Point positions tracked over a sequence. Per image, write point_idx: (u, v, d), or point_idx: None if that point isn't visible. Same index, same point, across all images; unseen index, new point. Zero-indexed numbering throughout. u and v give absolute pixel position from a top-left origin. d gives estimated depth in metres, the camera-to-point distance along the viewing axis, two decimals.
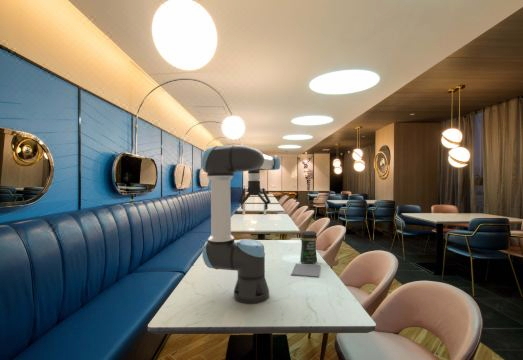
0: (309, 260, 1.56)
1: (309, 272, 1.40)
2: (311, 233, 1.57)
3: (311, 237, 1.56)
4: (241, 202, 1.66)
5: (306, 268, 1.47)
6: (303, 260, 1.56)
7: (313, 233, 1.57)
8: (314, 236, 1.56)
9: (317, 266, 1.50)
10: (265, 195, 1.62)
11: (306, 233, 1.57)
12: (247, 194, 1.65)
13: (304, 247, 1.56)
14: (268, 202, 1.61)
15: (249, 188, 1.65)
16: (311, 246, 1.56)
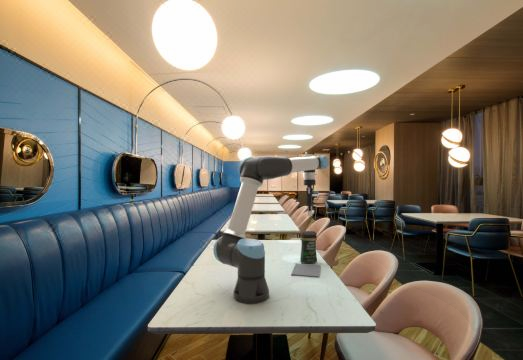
0: (309, 260, 1.56)
1: (309, 272, 1.40)
2: (311, 233, 1.57)
3: (311, 237, 1.56)
4: None
5: (306, 268, 1.47)
6: (303, 260, 1.56)
7: (313, 233, 1.57)
8: (314, 236, 1.56)
9: (317, 266, 1.50)
10: (307, 197, 1.67)
11: (306, 233, 1.57)
12: None
13: (304, 247, 1.56)
14: (307, 204, 1.68)
15: None
16: (311, 246, 1.56)
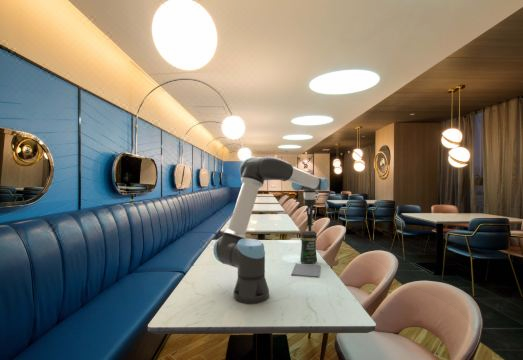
0: (309, 260, 1.56)
1: (309, 272, 1.40)
2: (311, 233, 1.57)
3: (311, 237, 1.56)
4: None
5: (306, 268, 1.47)
6: (303, 260, 1.56)
7: (313, 233, 1.57)
8: (314, 236, 1.56)
9: (317, 266, 1.50)
10: (307, 217, 1.67)
11: (306, 233, 1.57)
12: None
13: (304, 247, 1.56)
14: (307, 224, 1.68)
15: None
16: (311, 246, 1.56)
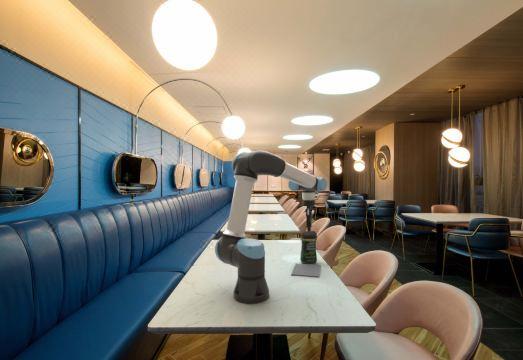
0: (309, 260, 1.55)
1: (309, 272, 1.40)
2: (312, 233, 1.56)
3: (311, 237, 1.54)
4: None
5: (306, 268, 1.47)
6: (303, 260, 1.56)
7: (313, 233, 1.56)
8: (314, 236, 1.55)
9: (317, 266, 1.50)
10: (306, 218, 1.60)
11: (306, 233, 1.55)
12: None
13: (304, 247, 1.55)
14: None
15: None
16: (311, 247, 1.55)
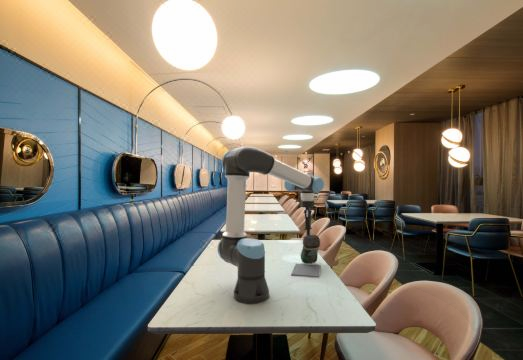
0: (309, 262, 1.54)
1: (309, 272, 1.40)
2: (315, 242, 1.46)
3: (314, 247, 1.46)
4: None
5: (306, 268, 1.47)
6: (303, 261, 1.55)
7: (317, 243, 1.46)
8: (317, 246, 1.46)
9: (317, 266, 1.50)
10: (305, 220, 1.52)
11: (309, 243, 1.45)
12: None
13: (306, 253, 1.50)
14: None
15: None
16: (313, 253, 1.49)
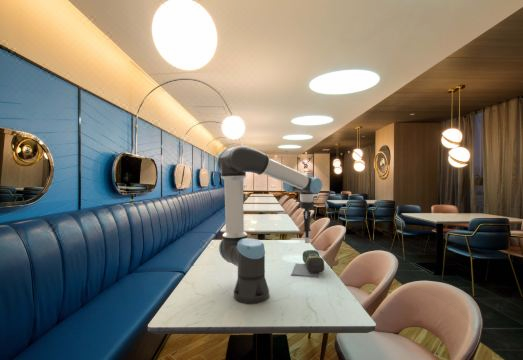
0: None
1: (309, 272, 1.40)
2: (319, 270, 1.38)
3: None
4: None
5: (306, 268, 1.47)
6: None
7: (320, 271, 1.38)
8: None
9: None
10: (304, 222, 1.48)
11: (312, 271, 1.38)
12: None
13: None
14: (304, 230, 1.49)
15: None
16: None
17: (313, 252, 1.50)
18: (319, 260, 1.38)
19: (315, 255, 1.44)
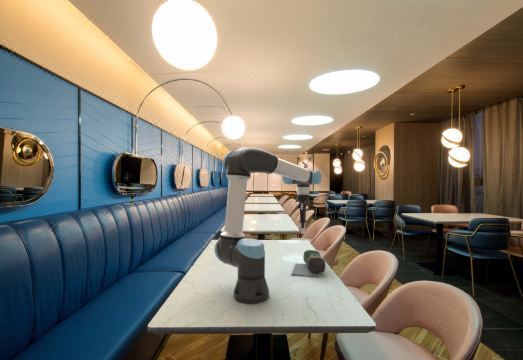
0: None
1: (309, 272, 1.40)
2: (319, 270, 1.38)
3: None
4: None
5: (306, 268, 1.47)
6: None
7: (320, 271, 1.38)
8: None
9: None
10: (300, 213, 1.57)
11: (312, 270, 1.38)
12: None
13: None
14: (300, 220, 1.58)
15: None
16: None
17: (315, 252, 1.50)
18: (321, 260, 1.38)
19: (317, 255, 1.44)
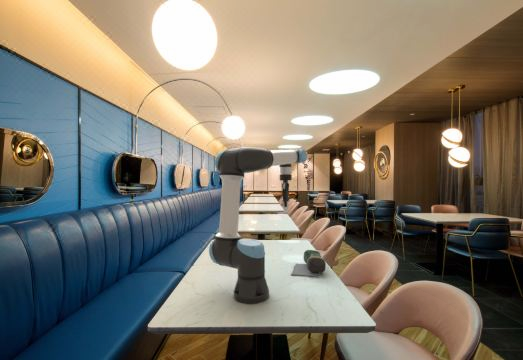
0: None
1: (309, 272, 1.40)
2: (319, 270, 1.38)
3: None
4: None
5: (306, 268, 1.47)
6: None
7: (321, 271, 1.38)
8: None
9: None
10: (282, 192, 1.62)
11: (312, 270, 1.38)
12: None
13: None
14: None
15: None
16: None
17: (315, 252, 1.50)
18: (321, 261, 1.38)
19: (317, 255, 1.44)
